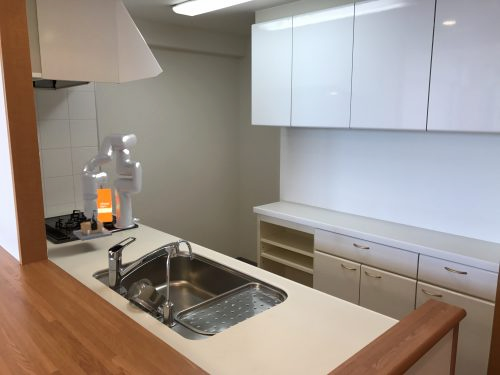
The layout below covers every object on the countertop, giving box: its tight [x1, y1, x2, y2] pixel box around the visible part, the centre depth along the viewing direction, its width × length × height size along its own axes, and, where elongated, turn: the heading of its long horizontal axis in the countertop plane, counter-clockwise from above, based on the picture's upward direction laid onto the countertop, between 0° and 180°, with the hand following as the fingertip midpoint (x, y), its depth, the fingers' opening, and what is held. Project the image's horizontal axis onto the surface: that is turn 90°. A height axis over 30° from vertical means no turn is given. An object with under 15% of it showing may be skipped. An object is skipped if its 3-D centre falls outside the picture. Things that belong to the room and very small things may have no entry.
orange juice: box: [97, 188, 113, 223], centre depth 256 cm, size 8×9×20 cm
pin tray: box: [72, 226, 113, 242], centre depth 226 cm, size 16×16×4 cm
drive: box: [80, 220, 104, 235], centre depth 225 cm, size 10×6×5 cm, turn 129°
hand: (92, 228), depth 225 cm, fingers closed on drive, 5 cm apart
